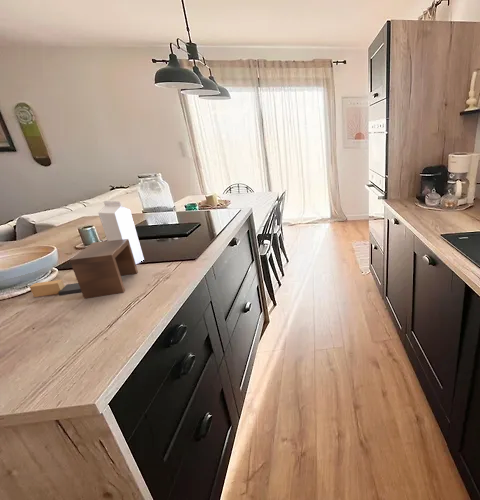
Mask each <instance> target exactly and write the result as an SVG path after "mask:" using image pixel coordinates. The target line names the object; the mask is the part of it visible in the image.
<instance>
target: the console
mask: <svg viewBox="0 0 480 500" xmlns="http://www.w3.org/2000/svg"><path fill="white" fill-rule="evenodd" d="M69 262H70V266H71V268H72V270H73V273H74V276H75V278H76V281H77V283H78V284H79V286H80V289H81V292H80V293H81V294H82V297H83V299H85V300H86V299H91V298H97V297H98V298H99V297H103V296H110V295H111V296H112V295H116V294H123V293H125V292H126V288H125V285H124V282H123V279H122V277H123V276H129V275H136V274H137V275H138V273H139V271H138V267H137V264H136V263H135V260H134V257H133V253H132V250H131V246H130V243H129V240H128V239H122V240H112V241H107V240H104V241H94V242H92V243H90V244H89V245H88V246H86V247H85V248H83V249H82V250H81V251H79V252H78V253H77V254H75V255H74V256H73V257H71V258H69Z"/></svg>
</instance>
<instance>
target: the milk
mask: <svg viewBox="0 0 480 500" xmlns="http://www.w3.org/2000/svg"><path fill="white" fill-rule="evenodd" d="M103 205H104V206H103V207H102V208H101V209H100V210H99V211H98V217H99V219H100V222H101V226H102V229H103V232H104V235H105V238H106V241H112V240H122V239H128V240H129V243H130V246H131V250H132V253H133V257H134V260H135V263H136V265H138V264H141V263H142V262H144V261H145V257H144V254H143V250H142V247H141V243H140V240H139V237H138V236H139V235H138V232H137V229H136V226H135V222H134V218H133V214H132V211H131V209H130V208H128V207H124V206H123V205H122V203H121V201H114V200H112V201H111V200H104V201H103ZM143 260H144V261H143ZM141 261H142V262H141Z"/></svg>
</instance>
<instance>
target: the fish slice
mask: <svg viewBox="0 0 480 500" xmlns="http://www.w3.org/2000/svg"><path fill="white" fill-rule="evenodd" d="M29 289H30V291H31V294H32V295H33V298H38V297H44V296H45V297H46V296H50V295H51V296H52V295H59V296H63V295H70V294H76V293H82V292H81V289H80V286H79V284H78V282H76V283H75V282H74V283H68V284H66V285H65V284H64V281H63V279H57V280H56V279H55V280H49V281H42V282H35V283H33V284H32V285H30V286H29Z"/></svg>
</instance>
